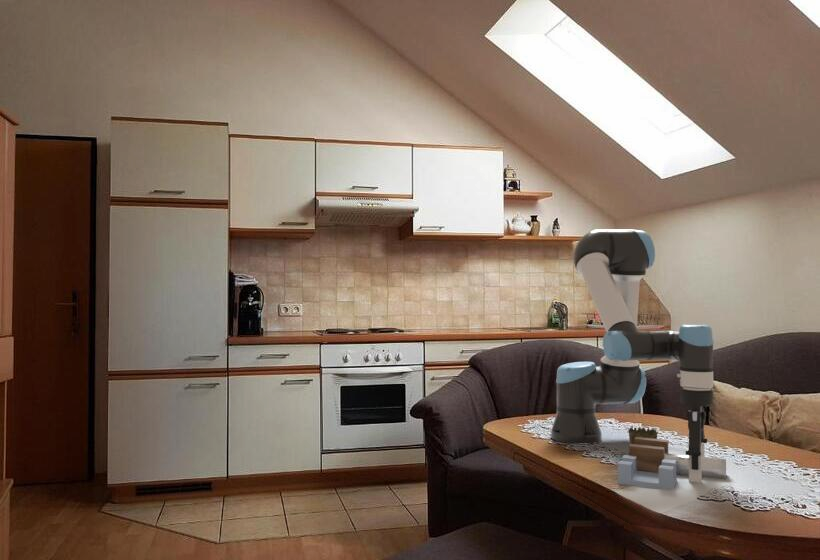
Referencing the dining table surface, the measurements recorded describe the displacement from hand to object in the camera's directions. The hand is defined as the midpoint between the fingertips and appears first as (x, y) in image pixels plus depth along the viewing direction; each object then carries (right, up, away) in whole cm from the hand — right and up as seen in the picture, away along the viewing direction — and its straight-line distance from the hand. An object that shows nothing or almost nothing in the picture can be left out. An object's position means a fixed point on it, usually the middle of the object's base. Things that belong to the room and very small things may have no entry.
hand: (697, 476), depth 161 cm
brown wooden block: (-10, 0, +5) cm, 11 cm away
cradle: (-14, 0, -6) cm, 15 cm away
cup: (-7, -1, +16) cm, 18 cm away
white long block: (-1, +2, +1) cm, 3 cm away
